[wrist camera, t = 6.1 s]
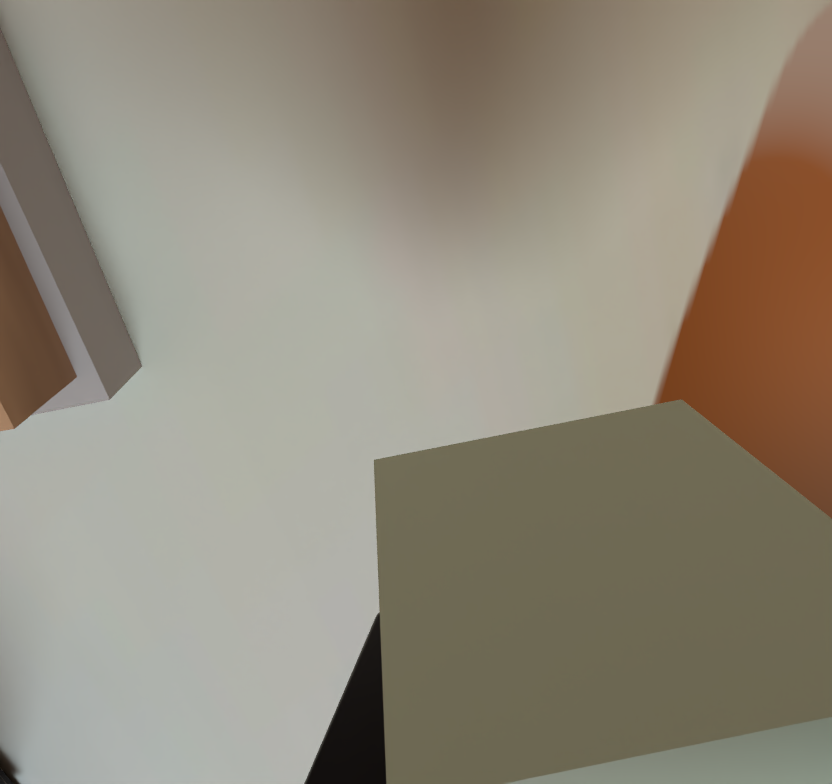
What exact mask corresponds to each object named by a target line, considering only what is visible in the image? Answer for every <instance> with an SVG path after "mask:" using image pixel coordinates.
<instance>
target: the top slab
mask: <svg viewBox="0 0 832 784" xmlns="http://www.w3.org/2000/svg"><path fill="white" fill-rule="evenodd" d="M75 378H77V375H76V373H75V371H74V369H73V367H72V364H71V362H70V360H69V358H68V355H67V353H66V351H65V349H64V346H63V344H62V342H61V340H60V338H59V335H58V333H57V331H56V329H55V326H54V324H53V322H52V320H51V317H50V315H49V313H48V311H47V309H46V306H45V304H44V302H43V300H42V297H41V295H40V293H39V291H38V288H37V286H36V284H35V282H34V280H33V277H32V275H31V273H30V271H29V268H28V266H27V264H26V262H25V260H24V257H23V255H22V253H21V251H20V248H19V246H18V244H17V242H16V239H15V237H14V235H13V233H12V231H11V228H10V226H9V224H8V222H7V219H6V217H5V215H4V213H3V210H2V208H1V206H0V431H3V430H9V429H15V428H16V427H17V426H18V425H19V424H21V423H22V422H23V421H24V420H26V419H27V418H28V417H29V416H30V415H32V414H33V413H34V412H35V411H37V410H38V409H39V408H40V407H41V406H43V405H44V404H45V403H46V402H47V401H49V400H50V399H51V398H52V397H54V396H55V395H56V394H57V393H58V392H60V391H61V390H62V389H63V388H65V387H66V386H67V385H68V384H69V383H71V382H72V381H73V380H74V379H75Z"/></svg>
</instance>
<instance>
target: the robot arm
mask: <svg viewBox="0 0 832 784" xmlns="http://www.w3.org/2000/svg"><path fill="white" fill-rule="evenodd" d="M0 784H13V783H12V782H11V781H10V779H9V778H8V777H7V776H6V774H5V773H4V772H3V771H2V770H1V768H0ZM304 784H386V759H385V734H384V708H383V682H382V657H381V631H380V612H379V613H378V614H377V616H376V618H375V620H374V623H373V625H372V627H371V630H370V632H369V634H368V637H367V639H366V641H365V644H364V646H363V648H362V651H361V653H360V655H359V658H358V660H357V662H356V665H355V667H354V669H353V672H352V674H351V676H350V679H349V681H348V683H347V686H346V688H345V690H344V693H343V695H342V697H341V700H340V702H339V704H338V707H337V709H336V711H335V714H334V716H333V718H332V721H331V723H330V725H329V727H328V730H327V732H326V734H325V737H324V739H323V741H322V744H321V746H320V748H319V751H318V753H317V755H316V758H315V760H314V762H313V765H312V767H311V769H310V772H309V774H308V776H307V779H306V781H305V783H304Z"/></svg>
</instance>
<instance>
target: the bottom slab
mask: <svg viewBox="0 0 832 784" xmlns="http://www.w3.org/2000/svg"><path fill="white" fill-rule="evenodd" d="M0 206H1V208H2V210H3V213H4V215H5V217H6V219H7V222H8V224H9V226H10V228H11V231H12V233H13V235H14V237H15V239H16V242H17V244H18V246H19V248H20V251H21V253H22V255H23V257H24V260H25V262H26V264H27V266H28V268H29V271H30V273H31V275H32V277H33V280H34V282H35V284H36V286H37V288H38V291H39V293H40V295H41V297H42V300H43V302H44V304H45V306H46V309H47V311H48V313H49V315H50V317H51V320H52V322H53V324H54V326H55V329H56V331H57V333H58V335H59V338H60V340H61V342H62V344H63V346H64V349H65V351H66V353H67V355H68V358H69V360H70V362H71V364H72V367H73V369H74V371H75V373H76V375H77V378H75V379H74V380H73V381H72V382H71V383H69V384H68V385H67V386H66V387H65V388H63V389H62V390H61V391H60V392H58V393H57V394H56V395H55V396H54V397H52V398H51V399H50V400H49V401H47V402H46V403H45V404H44V405H43V406H41V407H40V408H39V409H38V410H37V411H35V412H34V413H33V414H32V415H34V414H39V413H44V412H49V411H54V410H59V409H64V408H69V407H75V406H80V405H85V404H90V403H95V402H100V401H105V400H110V399H111V398H112V397H113V396H114V395H115V394H116V393H117V392H118V391H119V390H120V389H121V387H122V386H123V385H124V384H125V383H126V382H127V381H128V380H129V379H130V378H131V377H132V376H133V375H134V374H135V373H136V372H137V371H138V370H139V369H140V368H141V367H142V365H141V363H140V360H139V358H138V355H137V353H136V351H135V348H134V346H133V343H132V341H131V339H130V336H129V334H128V332H127V329H126V327H125V324H124V322H123V320H122V317H121V315H120V312H119V310H118V308H117V305H116V303H115V301H114V298H113V296H112V293H111V291H110V289H109V286H108V284H107V281H106V279H105V277H104V274H103V272H102V270H101V267H100V265H99V262H98V260H97V258H96V255H95V253H94V250H93V248H92V246H91V243H90V241H89V238H88V236H87V234H86V231H85V229H84V227H83V224H82V222H81V219H80V217H79V215H78V212H77V210H76V207H75V205H74V203H73V200H72V198H71V196H70V193H69V191H68V188H67V186H66V184H65V181H64V179H63V176H62V174H61V172H60V169H59V167H58V165H57V162H56V160H55V157H54V155H53V153H52V150H51V148H50V145H49V143H48V141H47V138H46V136H45V134H44V131H43V129H42V126H41V124H40V122H39V119H38V117H37V114H36V112H35V110H34V107H33V105H32V102H31V100H30V98H29V95H28V93H27V91H26V88H25V86H24V83H23V81H22V79H21V76H20V74H19V71H18V69H17V67H16V64H15V62H14V60H13V57H12V55H11V52H10V50H9V48H8V45H7V43H6V40H5V38H4V36H3V33H2V31H1V29H0Z"/></svg>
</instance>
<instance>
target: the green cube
mask: <svg viewBox="0 0 832 784" xmlns="http://www.w3.org/2000/svg"><path fill="white" fill-rule="evenodd" d="M374 477H375V503H376V528H377V554H378V580H379V605H380V631H381V657H382V682H383V708H384V734H385V759H386V784H832V519H831V518H830V517H829V516H827V515H826V514H825V513H823V511H821V510H820V509H819V508H817V507H816V506H815V505H814V504H812V503H811V502H810V501H808V500H807V499H806V498H805V497H804V496H802V495H801V494H800V493H799V492H797V491H796V490H795V489H794V488H792V487H791V486H790V485H788V484H787V483H786V482H785V481H783V480H782V479H781V478H780V477H778V476H777V475H776V474H775V473H773V472H772V471H771V470H770V469H768V468H767V467H766V466H765V465H763V464H762V463H761V462H760V461H758V460H757V459H756V458H754V457H753V456H752V455H751V454H749V453H748V452H747V451H746V450H744V449H743V448H742V447H740V446H739V445H738V444H737V443H736V442H734V441H733V440H732V439H731V438H729V437H728V436H727V435H726V434H724V433H723V432H722V431H720V430H719V429H718V428H717V427H715V426H714V425H713V424H712V423H710V422H709V421H708V420H707V419H705V418H704V417H703V416H702V415H700V414H699V413H698V412H697V411H695V410H694V409H693V408H692V407H690V406H689V405H688V404H686V403H685V402H684V401H683V400H677V401H672V402H667V403H662V404H656V405H651V406H646V407H641V408H636V409H631V410H626V411H621V412H616V413H611V414H605V415H600V416H595V417H590V418H585V419H580V420H575V421H570V422H565V423H560V424H555V425H549V426H544V427H539V428H534V429H529V430H524V431H519V432H514V433H509V434H504V435H499V436H493V437H488V438H483V439H478V440H473V441H468V442H463V443H458V444H453V445H448V446H442V447H437V448H432V449H427V450H422V451H417V452H412V453H407V454H402V455H397V456H392V457H386V458H381V459H376V460H374Z"/></svg>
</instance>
